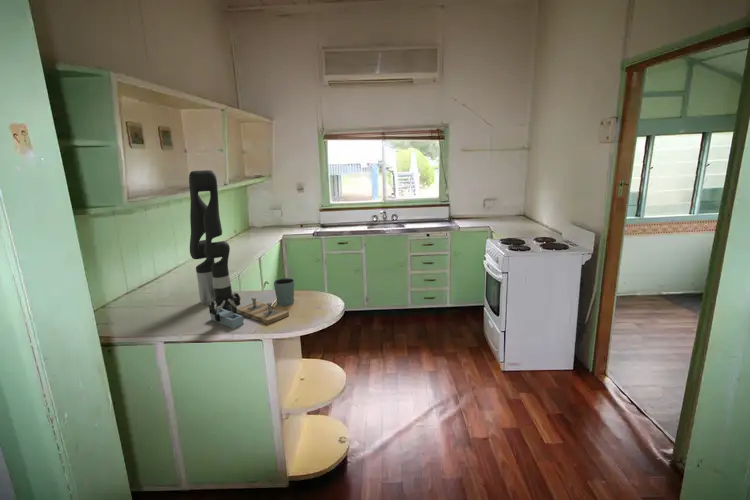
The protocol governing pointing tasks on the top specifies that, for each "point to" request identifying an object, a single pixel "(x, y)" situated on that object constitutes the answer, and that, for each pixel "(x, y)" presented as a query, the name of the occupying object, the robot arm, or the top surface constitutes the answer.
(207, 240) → the robot arm
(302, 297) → the top surface
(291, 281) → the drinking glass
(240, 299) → the flashlight
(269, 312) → the mount board
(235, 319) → the blue-grey block with holes
